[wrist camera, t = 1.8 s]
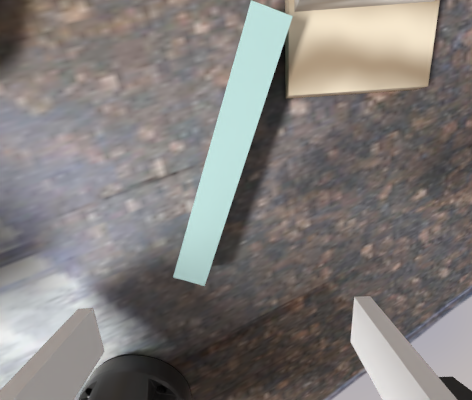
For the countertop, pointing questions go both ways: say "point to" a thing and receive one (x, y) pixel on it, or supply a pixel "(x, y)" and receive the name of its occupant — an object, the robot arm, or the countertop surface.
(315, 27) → the balance stand
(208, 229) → the beam
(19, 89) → the countertop surface
